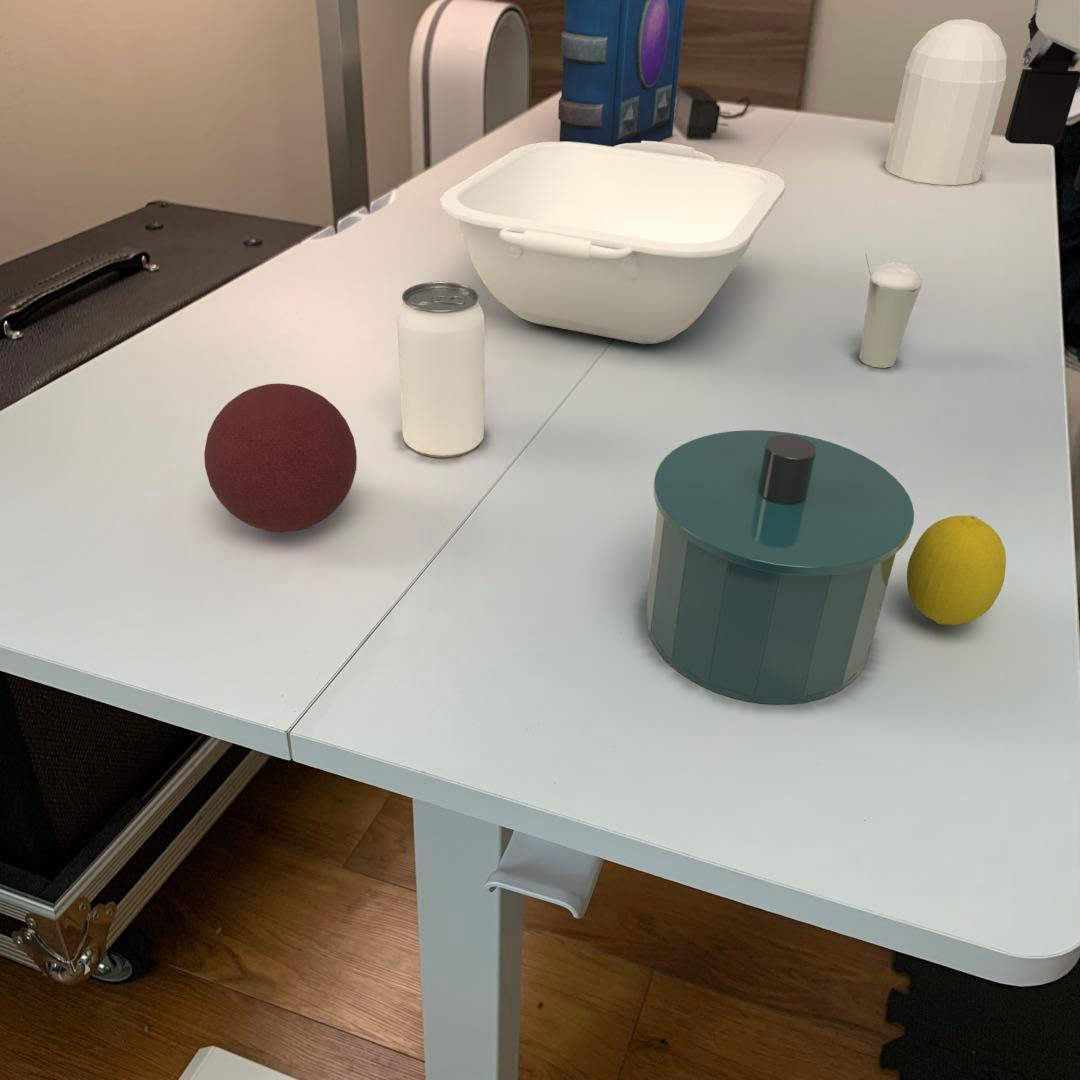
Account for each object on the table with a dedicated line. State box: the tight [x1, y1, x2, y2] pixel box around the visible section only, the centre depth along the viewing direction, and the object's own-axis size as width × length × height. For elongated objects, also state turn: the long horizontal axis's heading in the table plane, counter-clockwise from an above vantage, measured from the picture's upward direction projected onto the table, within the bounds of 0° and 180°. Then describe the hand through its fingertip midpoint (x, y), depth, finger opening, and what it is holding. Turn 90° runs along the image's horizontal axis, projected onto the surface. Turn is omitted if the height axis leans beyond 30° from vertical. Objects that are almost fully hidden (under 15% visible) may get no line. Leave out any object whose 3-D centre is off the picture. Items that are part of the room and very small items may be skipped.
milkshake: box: [858, 253, 923, 369], centre depth 97 cm, size 4×5×10 cm
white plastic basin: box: [438, 141, 786, 345], centre depth 104 cm, size 34×28×13 cm
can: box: [396, 281, 485, 459], centre depth 82 cm, size 6×6×12 cm
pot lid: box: [652, 429, 915, 576], centre depth 60 cm, size 15×15×4 cm
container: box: [884, 18, 1008, 186], centre depth 148 cm, size 13×13×20 cm
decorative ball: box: [203, 383, 358, 533], centre depth 72 cm, size 10×10×10 cm
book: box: [557, 0, 686, 147], centre depth 150 cm, size 24×9×30 cm, turn 147°
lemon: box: [906, 514, 1007, 626], centre depth 66 cm, size 6×6×8 cm
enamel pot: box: [646, 508, 897, 705], centre depth 64 cm, size 14×14×10 cm
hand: (1065, 165), depth 59 cm, fingers open, 9 cm apart
